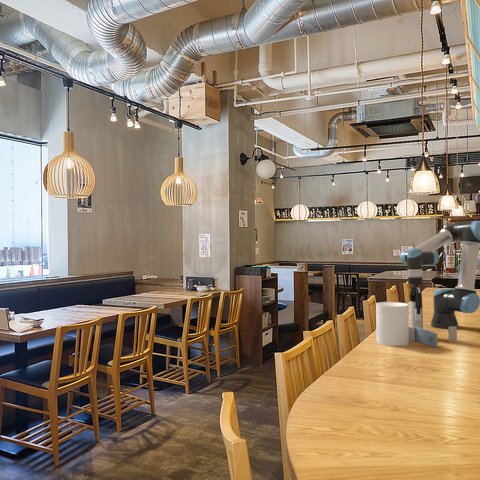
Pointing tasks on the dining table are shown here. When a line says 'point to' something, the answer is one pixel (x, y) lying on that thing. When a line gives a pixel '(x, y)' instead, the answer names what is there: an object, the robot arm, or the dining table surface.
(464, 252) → the robot arm
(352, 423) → the dining table surface
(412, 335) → the door post
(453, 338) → the wall stub
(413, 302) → the travel mug
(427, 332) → the door
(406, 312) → the canister
